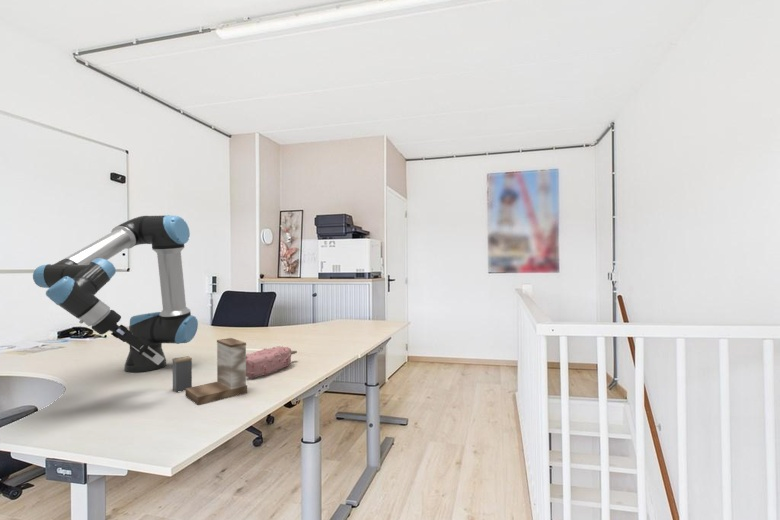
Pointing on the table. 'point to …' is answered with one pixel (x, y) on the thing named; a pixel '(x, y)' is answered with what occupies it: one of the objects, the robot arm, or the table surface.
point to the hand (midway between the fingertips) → (155, 358)
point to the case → (182, 373)
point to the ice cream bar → (267, 361)
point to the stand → (224, 374)
